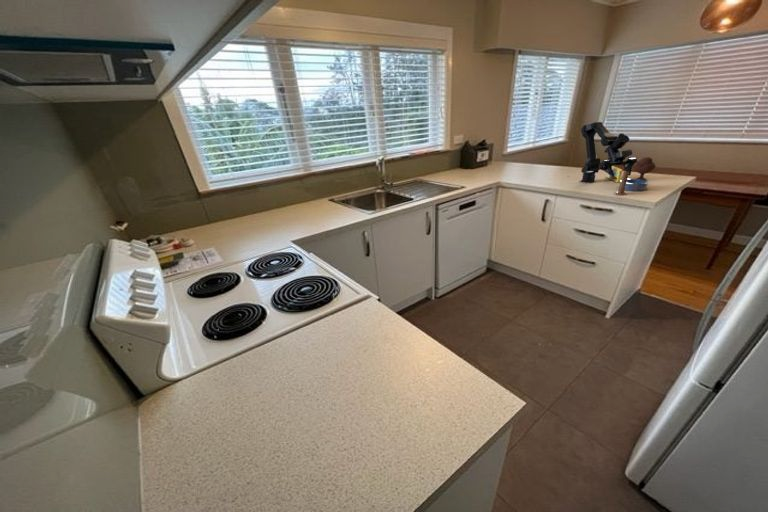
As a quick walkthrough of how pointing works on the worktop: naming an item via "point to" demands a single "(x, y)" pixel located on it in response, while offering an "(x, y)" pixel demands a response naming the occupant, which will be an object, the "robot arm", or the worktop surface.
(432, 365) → the worktop surface
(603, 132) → the robot arm
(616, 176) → the candy box
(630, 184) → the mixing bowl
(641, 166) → the brown tree model
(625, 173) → the stirring stick
